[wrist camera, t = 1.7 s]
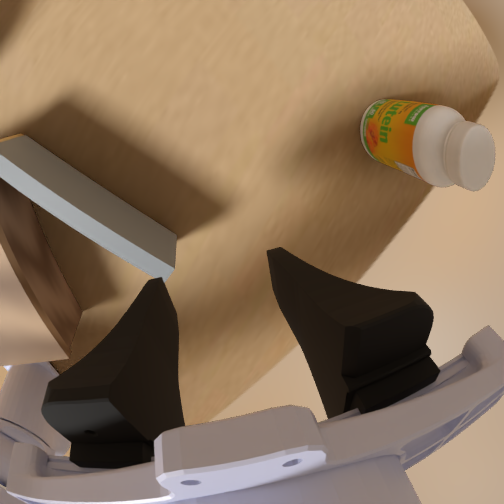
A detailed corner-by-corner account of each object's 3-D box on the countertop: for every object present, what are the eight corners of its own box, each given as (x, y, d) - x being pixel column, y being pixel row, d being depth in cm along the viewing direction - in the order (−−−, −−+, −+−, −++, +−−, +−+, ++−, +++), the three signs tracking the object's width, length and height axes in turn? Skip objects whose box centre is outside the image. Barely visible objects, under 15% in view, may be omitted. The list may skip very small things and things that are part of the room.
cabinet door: (12, 144, 14) (-24, 157, 10) (18, 130, 14) (-18, 140, 10) (167, 247, 21) (164, 283, 17) (177, 235, 21) (175, 268, 16)
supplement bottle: (373, 86, 18) (471, 92, 10) (417, 119, 20) (508, 143, 12) (347, 145, 20) (439, 179, 12) (394, 172, 22) (480, 216, 14)
